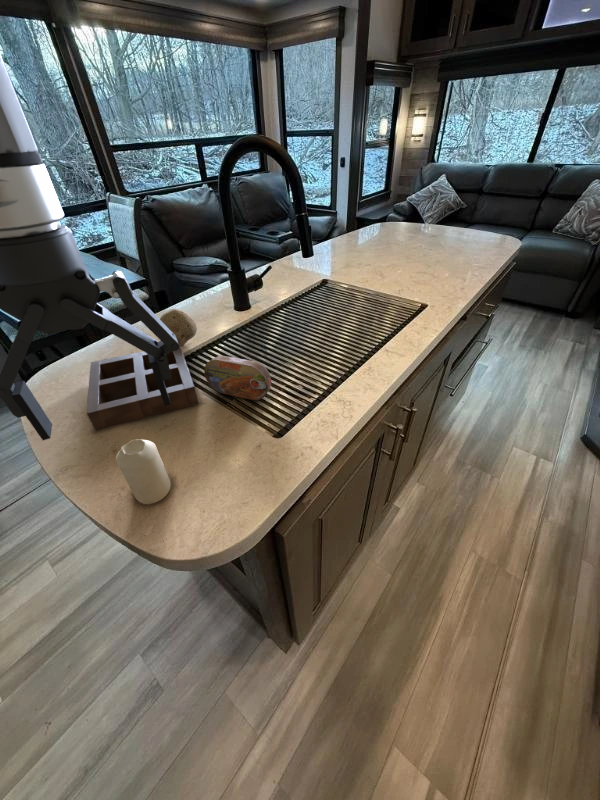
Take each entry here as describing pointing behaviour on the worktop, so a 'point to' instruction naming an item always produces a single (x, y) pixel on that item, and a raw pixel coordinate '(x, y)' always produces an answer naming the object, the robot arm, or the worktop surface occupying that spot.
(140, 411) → the rack
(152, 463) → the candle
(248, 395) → the tin
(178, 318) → the natural sponge
